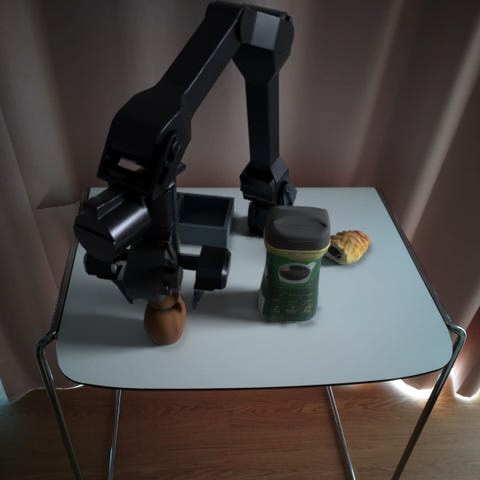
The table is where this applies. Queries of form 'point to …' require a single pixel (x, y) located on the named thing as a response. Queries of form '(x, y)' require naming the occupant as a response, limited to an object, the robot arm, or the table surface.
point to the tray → (205, 219)
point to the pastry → (347, 246)
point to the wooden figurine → (165, 319)
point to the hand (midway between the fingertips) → (163, 305)
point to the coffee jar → (293, 262)
